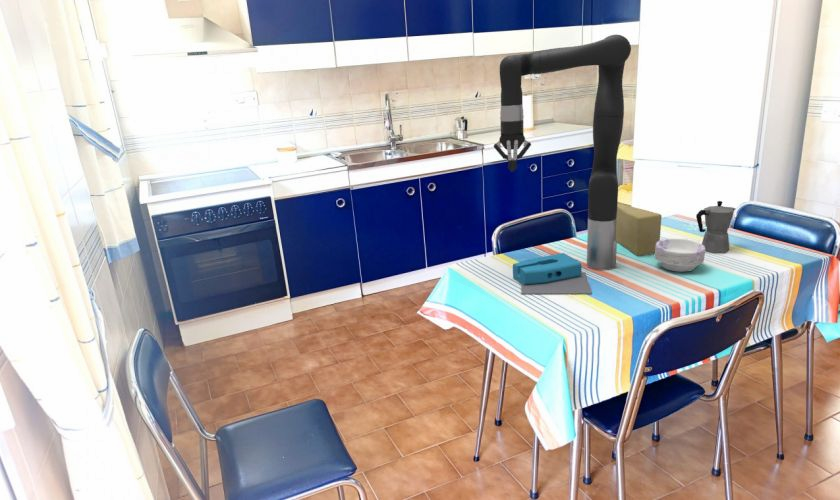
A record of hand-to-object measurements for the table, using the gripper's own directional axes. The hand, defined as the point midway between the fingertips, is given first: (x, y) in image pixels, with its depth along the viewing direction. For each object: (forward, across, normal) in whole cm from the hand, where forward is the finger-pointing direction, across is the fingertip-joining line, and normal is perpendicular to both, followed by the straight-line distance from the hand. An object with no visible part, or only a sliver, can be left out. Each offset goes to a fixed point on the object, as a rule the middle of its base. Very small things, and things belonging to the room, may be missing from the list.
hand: (512, 170), depth 191 cm
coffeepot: (+34, -71, -12) cm, 80 cm away
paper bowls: (+34, -55, +5) cm, 65 cm away
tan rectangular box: (+34, -44, -18) cm, 59 cm away
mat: (+34, -13, +18) cm, 41 cm away
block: (+32, -1, +16) cm, 36 cm away
